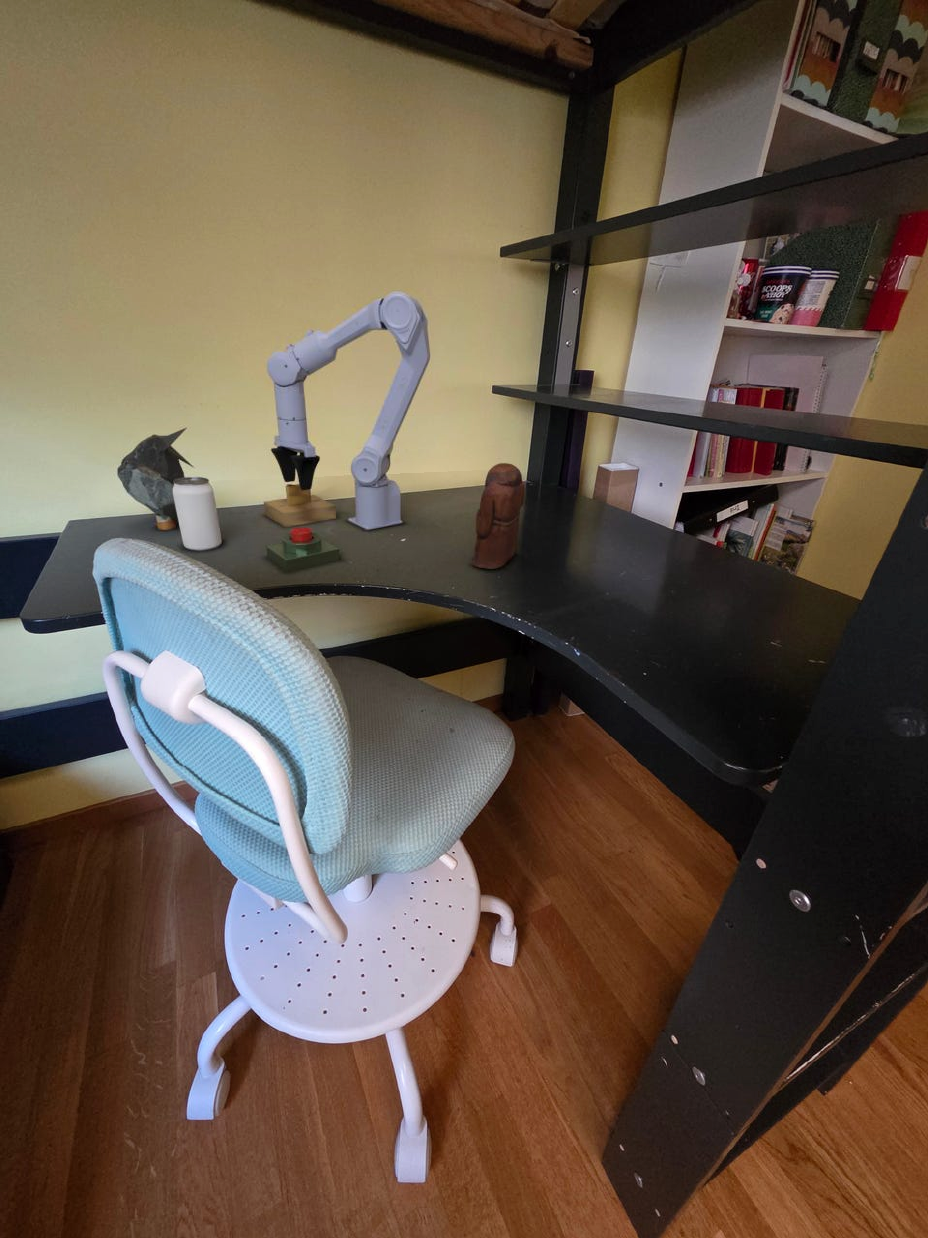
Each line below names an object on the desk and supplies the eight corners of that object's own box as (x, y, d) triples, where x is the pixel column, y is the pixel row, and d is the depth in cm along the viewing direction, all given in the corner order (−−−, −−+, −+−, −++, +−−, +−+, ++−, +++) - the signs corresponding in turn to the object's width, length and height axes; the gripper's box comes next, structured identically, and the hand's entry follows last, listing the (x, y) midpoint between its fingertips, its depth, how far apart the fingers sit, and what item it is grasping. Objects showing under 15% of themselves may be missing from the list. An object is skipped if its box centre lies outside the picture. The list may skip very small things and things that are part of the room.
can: (207, 553, 92) (195, 486, 86) (175, 548, 93) (161, 482, 87) (229, 541, 98) (219, 478, 92) (199, 537, 99) (187, 474, 93)
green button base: (318, 547, 98) (316, 526, 96) (339, 560, 93) (338, 539, 91) (267, 557, 92) (264, 536, 90) (287, 572, 87) (285, 550, 85)
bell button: (306, 535, 93) (305, 526, 92) (316, 541, 91) (315, 531, 90) (287, 538, 91) (286, 529, 90) (297, 544, 89) (296, 535, 88)
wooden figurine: (490, 547, 104) (498, 456, 95) (519, 554, 101) (531, 461, 93) (466, 566, 94) (473, 467, 86) (498, 574, 92) (509, 472, 83)
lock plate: (314, 507, 121) (313, 493, 119) (336, 518, 114) (335, 504, 113) (265, 514, 113) (263, 500, 112) (285, 527, 107) (283, 512, 106)
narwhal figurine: (110, 527, 100) (84, 431, 92) (174, 508, 113) (156, 422, 105) (166, 540, 96) (144, 440, 88) (226, 519, 109) (212, 430, 101)
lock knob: (308, 500, 114) (307, 481, 112) (311, 502, 114) (310, 483, 112) (287, 503, 111) (285, 484, 109) (290, 505, 110) (288, 485, 108)
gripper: (257, 414, 106) (265, 479, 113) (289, 424, 97) (295, 495, 104) (289, 413, 111) (295, 476, 117) (323, 423, 101) (327, 491, 108)
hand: (297, 485), depth 111 cm, fingers open, 7 cm apart
